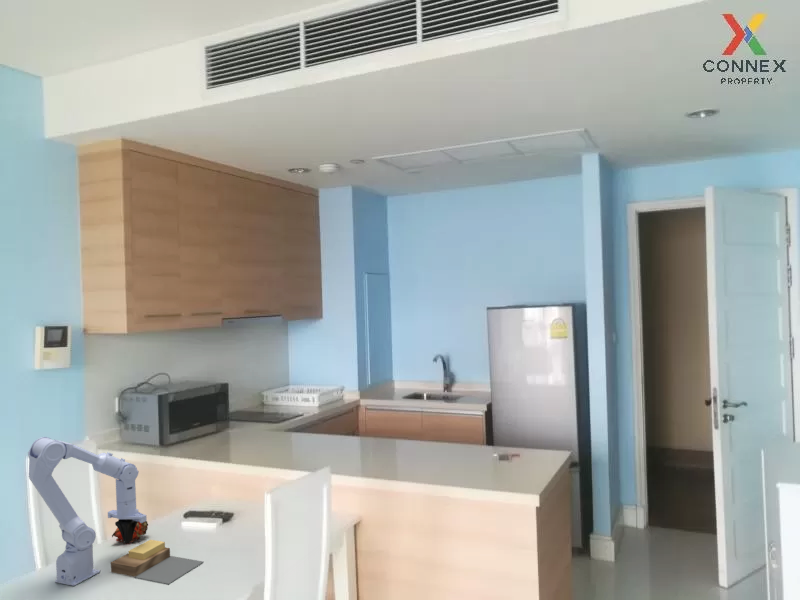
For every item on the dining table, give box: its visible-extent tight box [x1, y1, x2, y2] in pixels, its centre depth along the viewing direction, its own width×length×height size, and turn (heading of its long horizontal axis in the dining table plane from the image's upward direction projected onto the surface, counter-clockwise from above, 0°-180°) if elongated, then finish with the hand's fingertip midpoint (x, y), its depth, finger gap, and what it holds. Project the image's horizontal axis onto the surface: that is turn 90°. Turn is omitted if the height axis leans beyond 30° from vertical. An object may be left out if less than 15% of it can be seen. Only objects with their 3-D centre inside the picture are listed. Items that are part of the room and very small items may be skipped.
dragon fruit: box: [111, 521, 149, 543], centre depth 206 cm, size 8×8×12 cm
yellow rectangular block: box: [127, 539, 166, 560], centre depth 189 cm, size 9×6×2 cm, turn 158°
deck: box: [110, 546, 171, 578], centre depth 187 cm, size 14×10×3 cm
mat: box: [134, 555, 205, 586], centre depth 183 cm, size 15×13×1 cm
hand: (128, 541), depth 192 cm, fingers closed
